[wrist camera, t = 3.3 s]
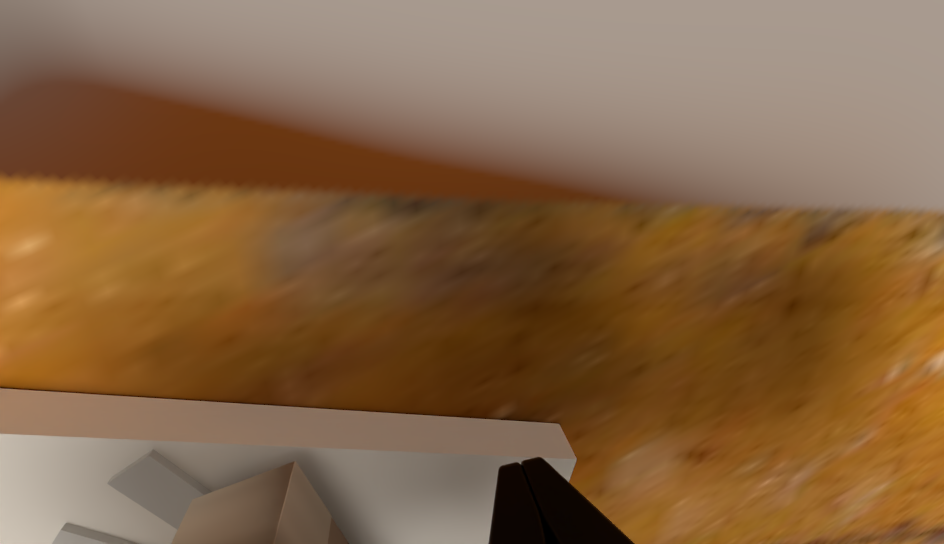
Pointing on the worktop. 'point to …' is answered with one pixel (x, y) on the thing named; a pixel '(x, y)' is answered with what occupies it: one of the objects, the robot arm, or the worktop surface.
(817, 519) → the worktop surface
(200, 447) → the dial board
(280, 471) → the lever
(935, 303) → the worktop surface
